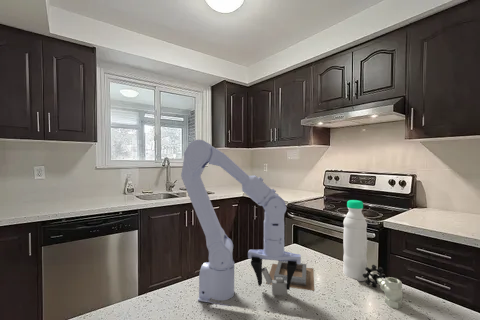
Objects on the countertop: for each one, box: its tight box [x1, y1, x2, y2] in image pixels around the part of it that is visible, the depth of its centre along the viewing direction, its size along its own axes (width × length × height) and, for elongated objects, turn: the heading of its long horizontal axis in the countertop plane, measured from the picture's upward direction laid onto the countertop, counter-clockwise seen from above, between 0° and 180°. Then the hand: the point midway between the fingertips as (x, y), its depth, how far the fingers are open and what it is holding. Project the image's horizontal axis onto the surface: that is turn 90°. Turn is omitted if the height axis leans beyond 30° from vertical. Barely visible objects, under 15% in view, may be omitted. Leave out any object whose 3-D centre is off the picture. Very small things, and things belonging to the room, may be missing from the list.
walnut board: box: [265, 263, 315, 291], centre depth 80 cm, size 14×15×1 cm
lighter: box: [261, 266, 288, 296], centre depth 69 cm, size 7×2×8 cm, turn 86°
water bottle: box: [342, 199, 368, 282], centre depth 81 cm, size 7×7×25 cm
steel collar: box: [274, 261, 307, 286], centre depth 80 cm, size 9×11×2 cm
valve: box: [363, 264, 404, 310], centre depth 70 cm, size 7×7×12 cm
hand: (274, 285), depth 69 cm, fingers open, 7 cm apart
